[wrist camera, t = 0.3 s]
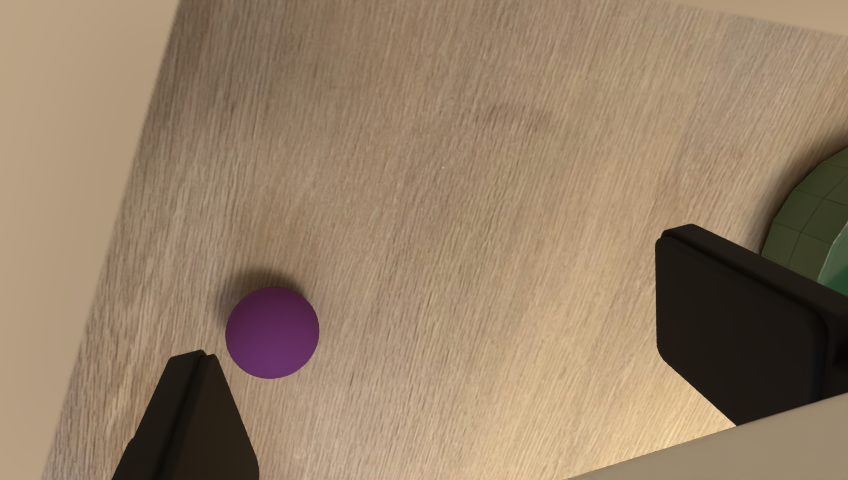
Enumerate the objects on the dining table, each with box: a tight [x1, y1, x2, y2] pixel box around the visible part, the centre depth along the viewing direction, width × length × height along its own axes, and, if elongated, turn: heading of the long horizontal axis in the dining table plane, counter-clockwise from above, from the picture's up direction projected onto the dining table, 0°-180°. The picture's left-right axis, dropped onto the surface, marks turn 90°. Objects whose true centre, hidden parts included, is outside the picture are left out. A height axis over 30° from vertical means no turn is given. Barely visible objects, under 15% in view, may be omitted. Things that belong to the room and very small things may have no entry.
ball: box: [225, 287, 319, 379], centre depth 29 cm, size 5×5×5 cm
